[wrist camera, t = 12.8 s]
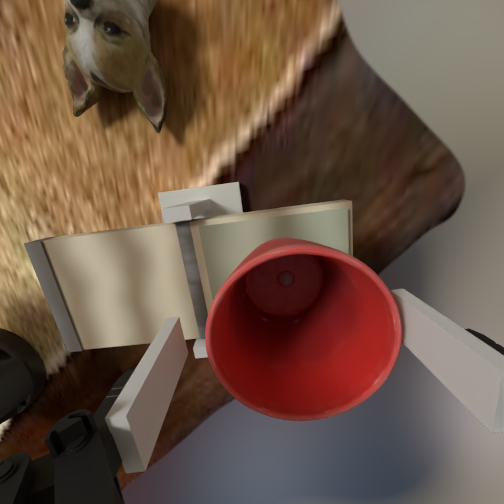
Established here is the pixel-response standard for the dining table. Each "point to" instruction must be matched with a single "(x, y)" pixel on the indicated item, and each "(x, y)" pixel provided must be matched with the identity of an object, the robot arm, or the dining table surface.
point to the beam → (164, 269)
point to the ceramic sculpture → (113, 55)
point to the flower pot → (302, 331)
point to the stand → (200, 214)
